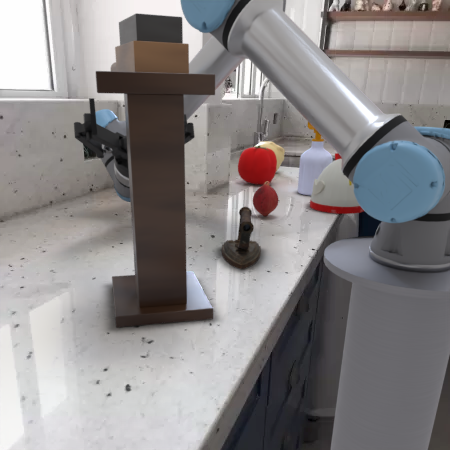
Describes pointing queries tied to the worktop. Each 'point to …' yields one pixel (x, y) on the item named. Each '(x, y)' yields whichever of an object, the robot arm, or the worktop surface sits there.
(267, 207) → the onion
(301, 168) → the soap bottle
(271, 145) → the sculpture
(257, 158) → the tomato
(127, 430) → the worktop surface
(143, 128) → the stand
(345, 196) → the kitchen timer
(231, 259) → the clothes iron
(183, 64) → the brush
